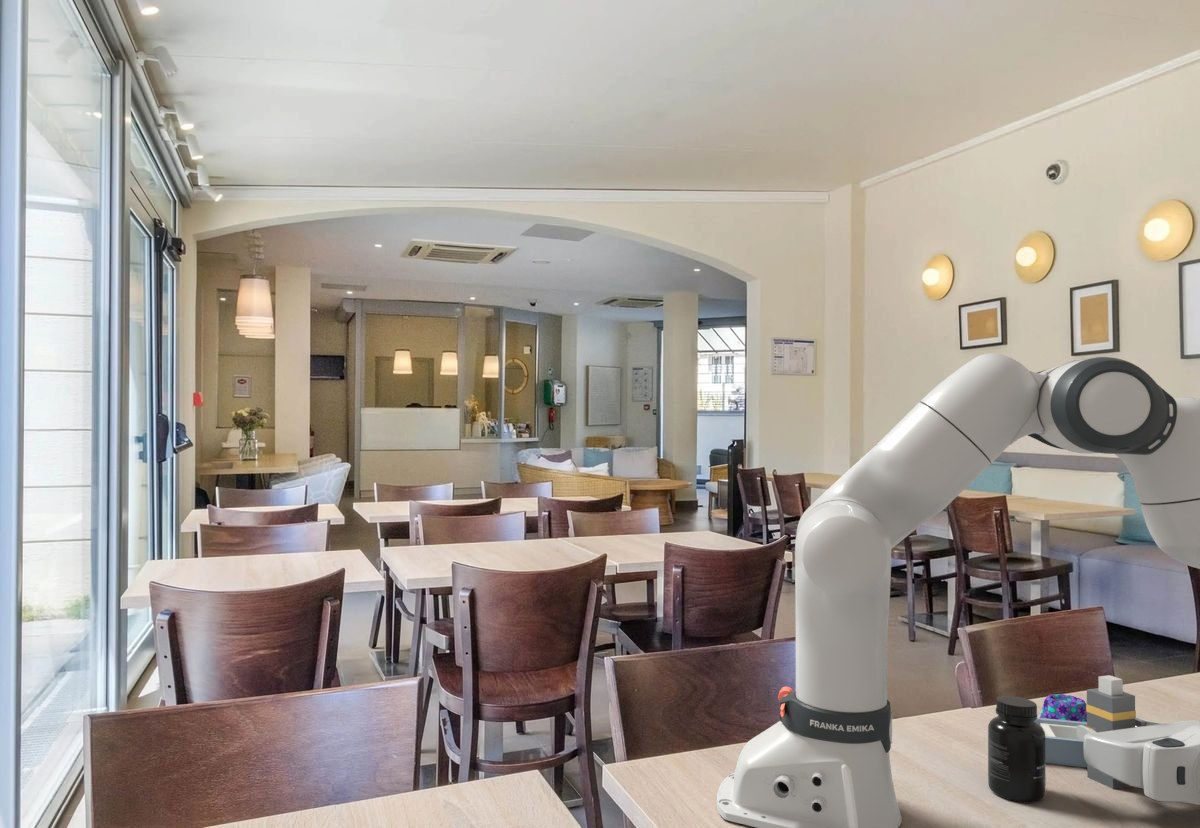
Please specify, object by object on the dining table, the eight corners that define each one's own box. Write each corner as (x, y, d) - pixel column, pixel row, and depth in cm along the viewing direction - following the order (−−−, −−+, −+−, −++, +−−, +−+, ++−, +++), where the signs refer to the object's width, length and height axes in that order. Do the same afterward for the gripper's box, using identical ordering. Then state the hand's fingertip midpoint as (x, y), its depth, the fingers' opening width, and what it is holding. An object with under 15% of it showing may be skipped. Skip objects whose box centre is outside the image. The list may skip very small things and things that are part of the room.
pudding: (1007, 723, 137) (1006, 691, 137) (1062, 715, 141) (1062, 684, 141) (1070, 750, 126) (1070, 715, 126) (1128, 740, 130) (1128, 706, 130)
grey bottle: (1113, 789, 112) (1112, 683, 112) (1086, 776, 116) (1086, 675, 116) (1136, 785, 113) (1135, 680, 113) (1109, 773, 117) (1108, 672, 117)
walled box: (1009, 759, 122) (1009, 734, 122) (999, 737, 130) (999, 714, 130) (1119, 771, 118) (1119, 745, 118) (1101, 747, 126) (1101, 723, 126)
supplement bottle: (1053, 806, 107) (1052, 711, 107) (995, 801, 108) (995, 708, 108) (1036, 784, 113) (1036, 695, 113) (982, 779, 115) (982, 691, 115)
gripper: (1268, 731, 105) (1164, 696, 118) (1145, 749, 99) (1049, 711, 112) (1268, 781, 105) (1164, 741, 118) (1145, 803, 99) (1049, 758, 112)
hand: (1107, 727), depth 115 cm, fingers open, 8 cm apart
